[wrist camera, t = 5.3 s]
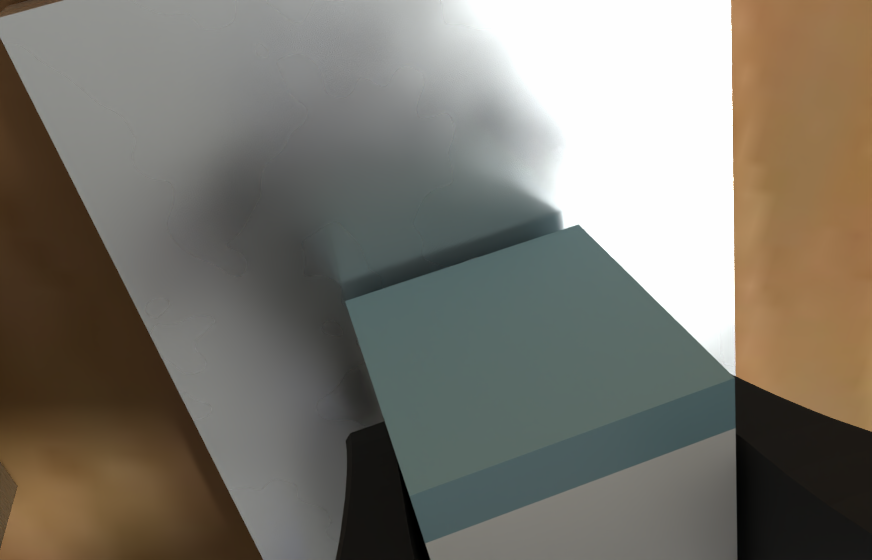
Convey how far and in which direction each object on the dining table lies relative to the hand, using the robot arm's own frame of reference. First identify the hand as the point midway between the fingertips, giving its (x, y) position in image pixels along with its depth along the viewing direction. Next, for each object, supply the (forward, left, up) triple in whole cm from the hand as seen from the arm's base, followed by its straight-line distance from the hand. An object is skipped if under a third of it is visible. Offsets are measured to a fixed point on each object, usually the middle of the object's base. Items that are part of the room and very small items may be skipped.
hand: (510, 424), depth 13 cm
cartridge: (-4, 0, -1) cm, 4 cm away
